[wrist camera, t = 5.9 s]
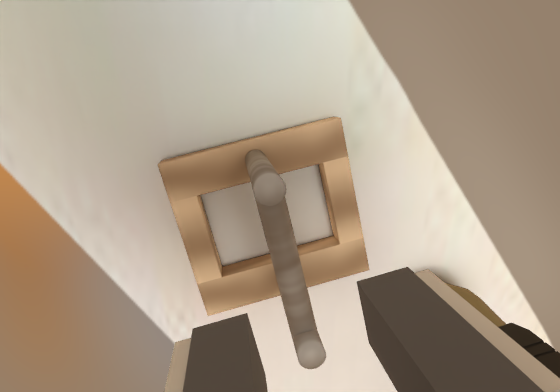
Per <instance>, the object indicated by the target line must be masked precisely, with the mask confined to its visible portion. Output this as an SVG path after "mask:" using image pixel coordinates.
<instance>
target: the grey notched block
mask: <svg viewBox="0 0 560 392" xmlns="http://www.w3.org/2000/svg"><path fill="white" fill-rule="evenodd" d="M357 285H358V290H359V295H360V300H361V305H362V310H363V315H364V320H365V325H366V330H367V335H368V340H369V344H370V345H371V347H372V349H373V350H374V352H375V354H376V356H377V357H378V359H379V361H380V362H381V364H382V366H383V368H384V369H385V371H386V373H387V374H388V376H389V378H390V379H391V381H392V383H393V385H394V386H395V388H396V390H397V391H398V392H544V391H543V390H542V389H541V388H540V387H538V386H537V385H536V384H535V383H534V382H533V381H532V380H531V379H530V378H529V377H528V376H526V375H525V374H524V373H523V372H522V371H521V370H520V369H519V368H518V367H517V366H516V365H514V364H513V363H512V362H511V361H510V360H509V359H508V358H507V357H506V356H505V355H503V354H502V353H501V352H500V351H499V350H498V349H497V348H496V347H495V346H494V345H493V344H491V343H490V342H489V341H488V340H487V339H486V338H485V337H484V336H483V335H482V334H481V333H479V332H478V331H477V330H476V329H475V328H474V327H473V326H472V325H471V324H470V323H468V322H467V321H466V320H465V319H464V318H463V317H462V316H461V315H460V314H459V313H458V312H456V311H455V310H454V309H453V308H452V307H451V306H450V305H449V304H448V303H447V302H446V301H444V300H443V299H442V298H441V297H440V296H439V295H438V294H437V293H436V292H435V291H433V290H432V289H431V288H430V287H429V286H428V285H427V284H426V283H425V282H424V281H423V280H421V279H420V278H419V277H418V276H417V275H416V274H415V273H414V272H413V271H412V270H410V269H409V268H408V267H406V268H402V269H399V270H395V271H392V272H388V273H385V274H381V275H378V276H375V277H371V278H368V279H364V280H361V281H357ZM183 392H267V384H266V377H265V372H264V369H263V365H262V362H261V359H260V355H259V352H258V348H257V345H256V342H255V338H254V335H253V332H252V328H251V325H250V322H249V318H248V315H247V313H246V314H242V315H239V316H235V317H232V318H228V319H225V320H221V321H218V322H214V323H211V324H207V325H204V326H201V327H197V328H194V329H193V330H192V336H191V343H190V349H189V355H188V361H187V368H186V374H185V380H184V386H183Z"/></svg>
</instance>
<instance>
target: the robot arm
mask: <svg viewBox="0 0 560 392" xmlns="http://www.w3.org/2000/svg"><path fill="white" fill-rule="evenodd" d="M415 274H416V275H417V276H418V277H419V278H420V279H421V280H423V281H424V282H425V283H426V284H427V285H428V286H429V287H430V288H431V289H432V290H433V291H435V292H436V293H437V294H438V295H439V296H440V297H441V298H442V299H443V300H444V301H446V302H447V303H448V304H449V305H450V306H451V307H452V308H453V309H454V310H455V311H456V312H458V313H459V314H460V315H461V316H462V317H463V318H464V319H465V320H466V321H467V322H468V323H470V324H471V325H472V326H473V327H474V328H475V329H476V330H477V331H478V332H479V333H481V334H482V335H483V336H484V337H485V338H486V339H487V340H488V341H489V342H490V343H491V344H493V345H494V346H495V347H496V348H497V349H498V350H499V351H500V352H501V353H502V354H503V355H505V356H506V357H507V358H508V359H509V360H510V361H511V362H512V363H513V364H514V365H516V366H517V367H518V368H519V369H520V370H521V371H522V372H523V373H524V374H525V375H526V376H528V377H529V378H530V379H531V380H532V381H533V382H534V383H535V384H536V385H537V386H538V387H540V388H541V389H542V390H543V391H544V392H560V353H559V352H556V351H555V349H554V348H552V347H551V346H550V345H548V344H547V343H544V342H543V340H542V339H540V338H539V337H538V336H536V335H535V334H534V333H532V332H531V331H530V330H528V329H525V328H523V327H521V326H518V325H516V324H513V323H509V324H506V325H503V326H499V327H497V326H496V325H495V324H494V323H492V322H491V321H490V320H489V319H487V318H486V317H485V316H484V315H483V314H481V313H480V312H479V311H478V310H477V309H475V308H474V307H473V306H472V305H471V304H469V303H468V302H467V301H466V300H465V299H463V298H462V297H461V296H460V295H459V294H457V293H456V292H455V291H454V290H453V289H451V288H450V287H449V286H448V285H447V284H445V283H444V282H443V281H442V280H441V279H439V278H438V277H437V276H436V275H435V274H433V273H432V272H431V271H430V270H429V269H427V270H423V271H420V272H417V273H415ZM190 343H191V338H188V339H185V340H182V341H178V342H175V345H174V350H173V354H172V359H171V363H170V367H169V372H168V376H167V381H166V386H165V390H164V392H183V386H184V380H185V374H186V368H187V361H188V355H189V349H190Z"/></svg>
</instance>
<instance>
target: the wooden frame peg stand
mask: <svg viewBox="0 0 560 392" xmlns="http://www.w3.org/2000/svg"><path fill="white" fill-rule="evenodd" d="M316 164H319V169H320V174H321V179H322V183H323V188H324V193H325V197H326V202H327V207H328V212H329V216H330V221H331V226H332V231H333V235H334V236H331V237H328V238H324V239H320V240H317V241H313V242H310V243H306V244H302V245H299V246H297V245H296V241H295V237H294V233H293V228H292V224H291V220H290V216H289V212H288V208H287V204H286V200H285V194H286V186H285V183H284V181H283V180H282V178H281V177H280V176H279V174H282V173H286V172H289V171H293V170H297V169H301V168H305V167H308V166H312V165H316ZM158 167H159V170H160V173H161V176H162V179H163V182H164V185H165V188H166V191H167V194H168V197H169V200H170V203H171V206H172V209H173V212H174V215H175V218H176V221H177V224H178V227H179V230H180V233H181V236H182V239H183V242H184V245H185V248H186V251H187V254H188V257H189V260H190V263H191V266H192V269H193V272H194V275H195V278H196V281H197V284H198V287H199V290H200V293H201V296H202V299H203V302H204V306H205V309H206V312H207V315H208V316H210V315H213V314H217V313H220V312H224V311H227V310H231V309H234V308H238V307H241V306H245V305H248V304H252V303H255V302H259V301H262V300H266V299H269V298H273V297H276V296H280V295H281V298H282V302H283V305H284V309H285V313H286V316H287V320H288V324H289V327H290V331H291V335H292V339H293V342H294V346H295V350H296V353H297V357H298V361H299V363H300V365H301V366H302V367H304V368H307V369H314V368H317V367H319V366H320V365H322V364H323V362H324V361H325V358H326V352H325V349H324V347H323V344H322V342H321V339H320V337H319V334H318V331H317V327H316V323H315V319H314V315H313V311H312V307H311V303H310V298H309V294H308V290H307V288H308V287H311V286H315V285H318V284H322V283H325V282H329V281H332V280H336V279H339V278H343V277H346V276H350V275H353V274H357V273H360V272H364V271H367V270H369V265H368V260H367V255H366V249H365V244H364V239H363V234H362V228H361V223H360V218H359V212H358V207H357V202H356V196H355V191H354V186H353V180H352V175H351V170H350V164H349V159H348V154H347V149H346V143H345V138H344V133H343V127H342V122H341V118H339V117H331V118H327V119H323V120H319V121H315V122H311V123H307V124H303V125H299V126H295V127H291V128H287V129H283V130H280V131H276V132H272V133H268V134H264V135H260V136H256V137H252V138H248V139H244V140H240V141H236V142H232V143H228V144H224V145H221V146H217V147H213V148H209V149H205V150H201V151H197V152H193V153H189V154H185V155H181V156H177V157H173V158H169V159H165V160H162V161H161V162H160V163H159V164H158ZM247 182H251V184H252V188H253V192H254V196H255V199H256V203H257V207H258V211H259V214H260V218H261V222H262V226H263V230H264V233H265V237H266V241H267V245H268V248H269V252H270V254H266V255H263V256H259V257H256V258H252V259H248V260H245V261H241V262H238V263H234V264H230V265H227V266H223V267H222V265H221V261H220V258H219V255H218V252H217V248H216V245H215V242H214V239H213V235H212V232H211V229H210V226H209V222H208V219H207V216H206V213H205V209H204V206H203V203H202V200H201V196H200V195H202V194H206V193H209V192H213V191H217V190H221V189H225V188H228V187H232V186H236V185H240V184H244V183H247Z"/></svg>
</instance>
